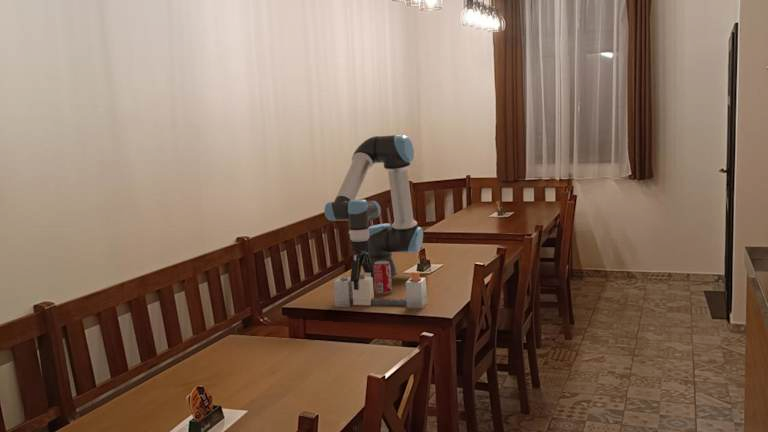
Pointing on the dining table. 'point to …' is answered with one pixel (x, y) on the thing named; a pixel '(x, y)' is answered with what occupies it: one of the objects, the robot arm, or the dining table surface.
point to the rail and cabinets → (414, 299)
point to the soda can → (382, 277)
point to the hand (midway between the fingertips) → (362, 293)
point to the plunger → (415, 276)
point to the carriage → (364, 291)
